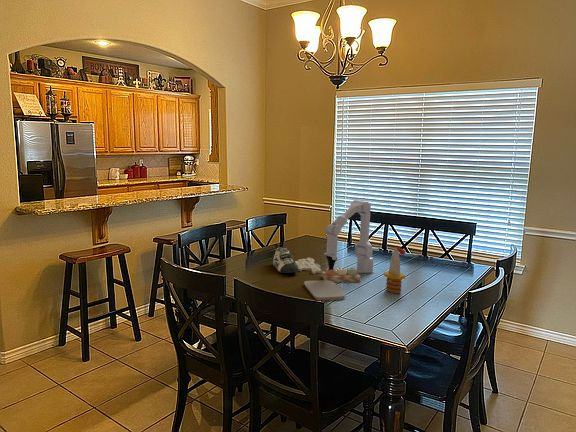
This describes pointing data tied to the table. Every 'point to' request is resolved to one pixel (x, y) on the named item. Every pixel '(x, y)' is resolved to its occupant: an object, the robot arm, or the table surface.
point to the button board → (341, 277)
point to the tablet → (324, 290)
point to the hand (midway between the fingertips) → (330, 268)
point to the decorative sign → (308, 265)
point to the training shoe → (284, 261)
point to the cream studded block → (341, 271)
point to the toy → (394, 272)
